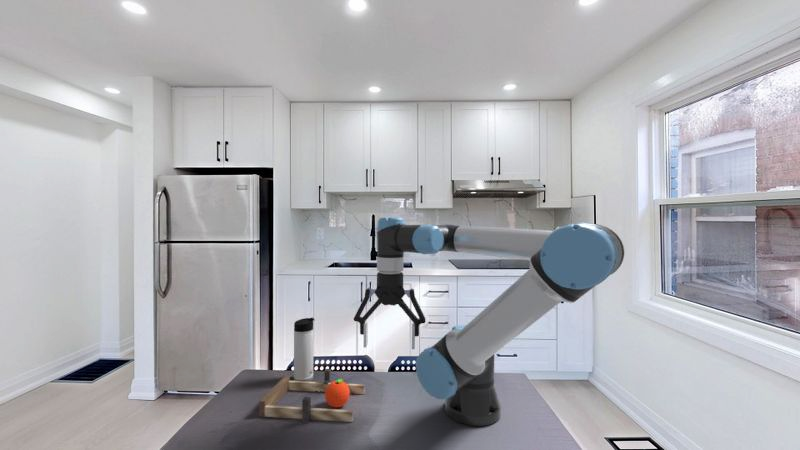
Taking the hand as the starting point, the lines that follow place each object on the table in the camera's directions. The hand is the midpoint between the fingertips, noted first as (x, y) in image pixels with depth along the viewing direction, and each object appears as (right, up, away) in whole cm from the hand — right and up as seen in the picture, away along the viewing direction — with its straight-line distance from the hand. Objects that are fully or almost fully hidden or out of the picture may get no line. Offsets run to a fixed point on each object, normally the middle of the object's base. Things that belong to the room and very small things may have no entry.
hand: (389, 346), depth 98 cm
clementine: (-15, -17, +1) cm, 23 cm away
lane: (-21, -17, +2) cm, 27 cm away
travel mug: (-29, -17, +18) cm, 38 cm away
